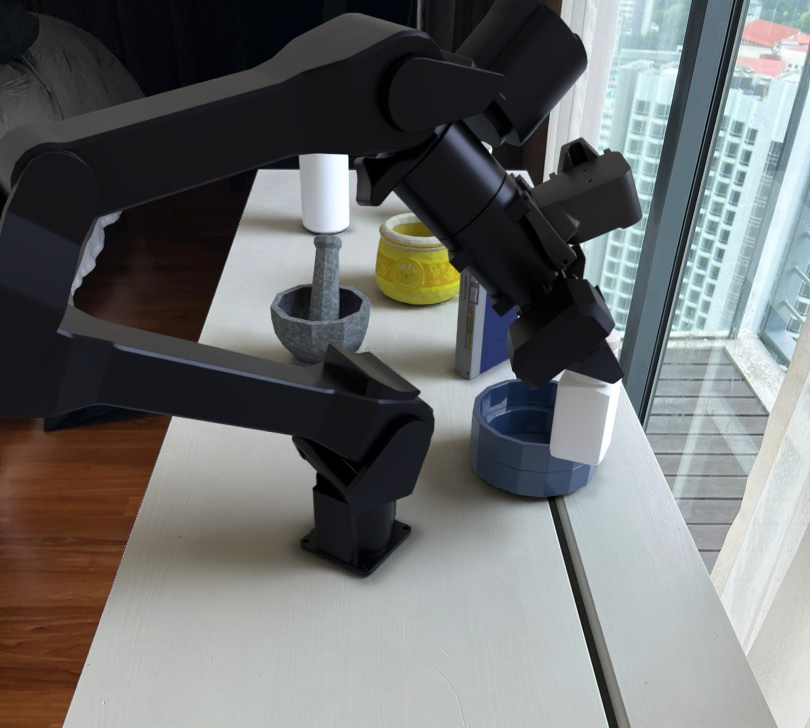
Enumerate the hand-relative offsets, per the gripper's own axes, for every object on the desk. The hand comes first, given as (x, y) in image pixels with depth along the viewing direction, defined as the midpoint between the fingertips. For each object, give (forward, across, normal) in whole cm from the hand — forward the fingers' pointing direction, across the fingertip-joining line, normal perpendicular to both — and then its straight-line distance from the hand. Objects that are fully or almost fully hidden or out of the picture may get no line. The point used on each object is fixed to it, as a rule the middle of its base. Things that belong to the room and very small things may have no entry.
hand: (613, 367), depth 60 cm
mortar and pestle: (-6, +25, +26) cm, 37 cm away
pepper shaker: (+4, 0, +6) cm, 7 cm away
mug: (+2, +43, +18) cm, 47 cm away
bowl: (+7, +7, +12) cm, 16 cm away
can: (-8, +65, +27) cm, 71 cm away
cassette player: (+5, +25, +14) cm, 29 cm away
